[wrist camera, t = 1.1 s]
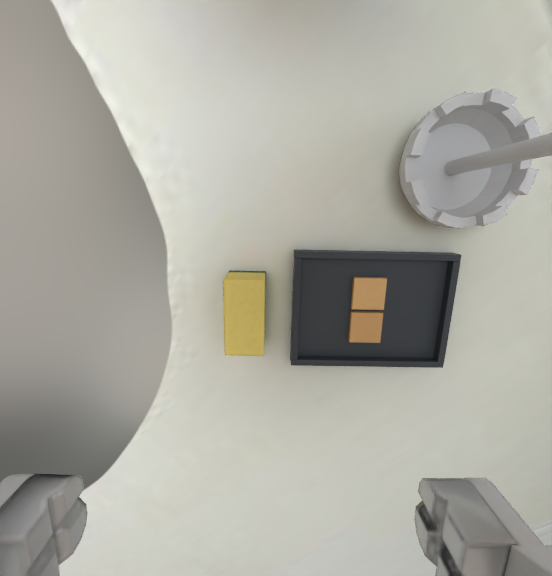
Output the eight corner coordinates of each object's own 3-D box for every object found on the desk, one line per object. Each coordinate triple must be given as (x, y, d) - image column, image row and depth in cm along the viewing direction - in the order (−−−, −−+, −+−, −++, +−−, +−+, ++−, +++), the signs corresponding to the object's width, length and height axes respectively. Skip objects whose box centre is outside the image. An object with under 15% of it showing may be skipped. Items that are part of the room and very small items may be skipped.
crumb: (350, 310, 40) (351, 312, 39) (381, 311, 40) (383, 313, 39) (347, 340, 41) (349, 342, 40) (378, 340, 41) (380, 343, 40)
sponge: (229, 270, 39) (223, 279, 34) (265, 271, 39) (264, 280, 34) (230, 338, 41) (224, 355, 36) (264, 338, 41) (263, 356, 36)
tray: (294, 249, 39) (295, 251, 37) (453, 252, 39) (461, 254, 37) (290, 359, 42) (291, 365, 40) (436, 361, 42) (443, 367, 41)
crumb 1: (352, 276, 39) (354, 277, 38) (385, 277, 39) (387, 278, 38) (350, 307, 40) (351, 309, 39) (381, 308, 40) (384, 310, 39)
